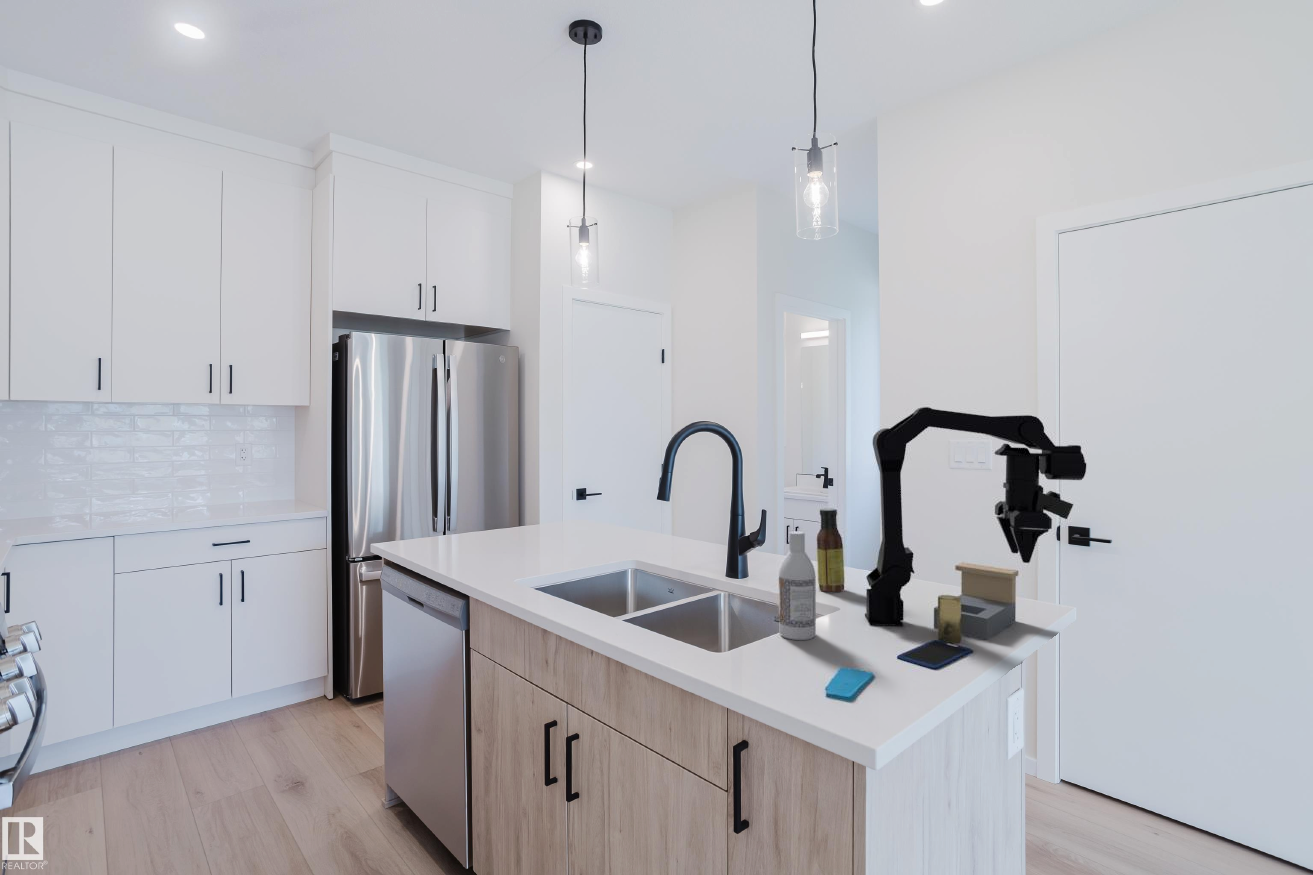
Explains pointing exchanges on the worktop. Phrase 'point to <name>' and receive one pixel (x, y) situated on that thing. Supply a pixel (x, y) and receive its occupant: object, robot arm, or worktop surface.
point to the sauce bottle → (830, 553)
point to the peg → (949, 619)
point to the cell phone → (934, 654)
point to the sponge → (847, 683)
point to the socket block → (985, 599)
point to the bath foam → (797, 592)
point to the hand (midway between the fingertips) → (1020, 557)
